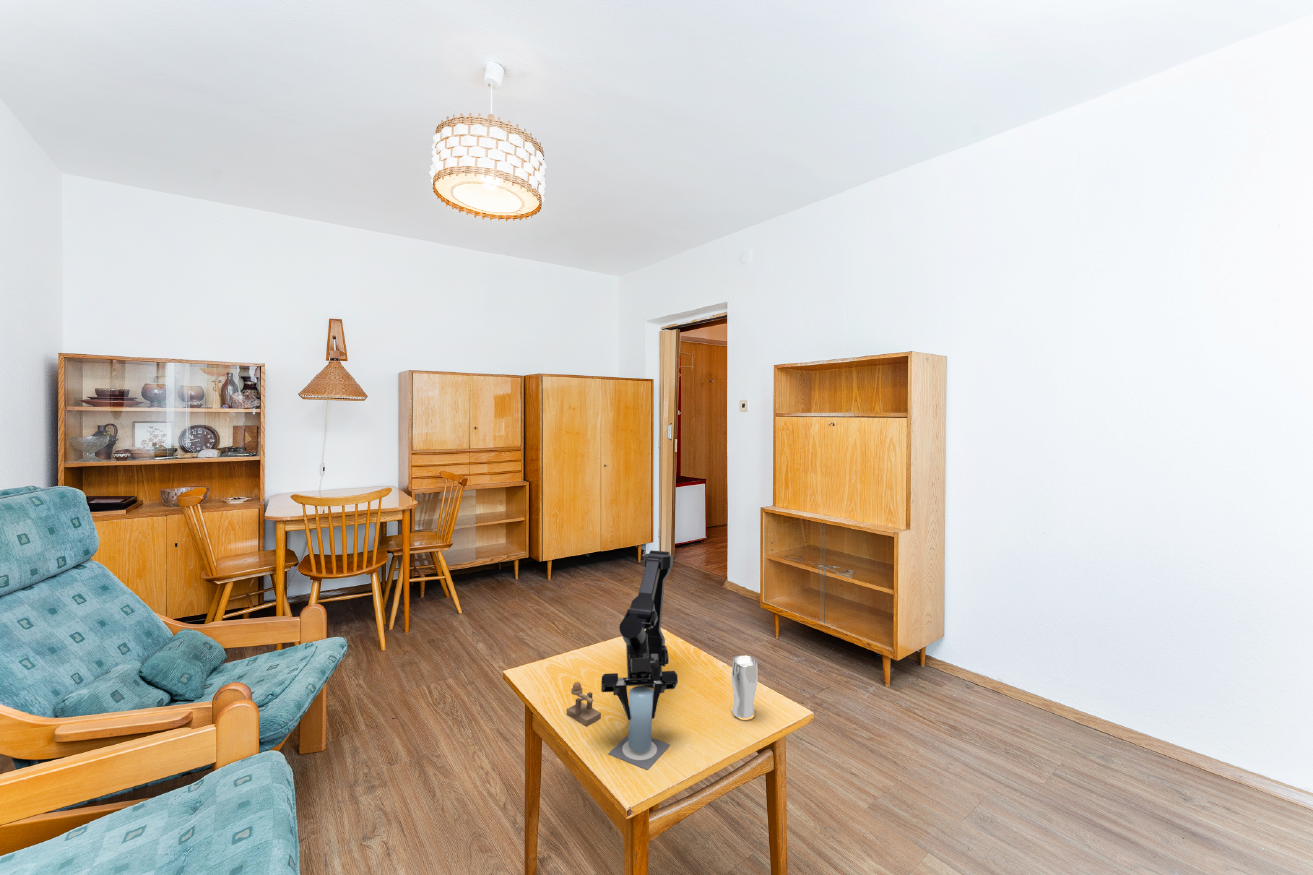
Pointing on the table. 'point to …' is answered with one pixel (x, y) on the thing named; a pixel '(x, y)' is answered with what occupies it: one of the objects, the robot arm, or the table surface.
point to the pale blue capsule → (640, 718)
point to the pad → (639, 753)
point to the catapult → (583, 707)
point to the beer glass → (744, 685)
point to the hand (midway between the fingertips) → (641, 718)
